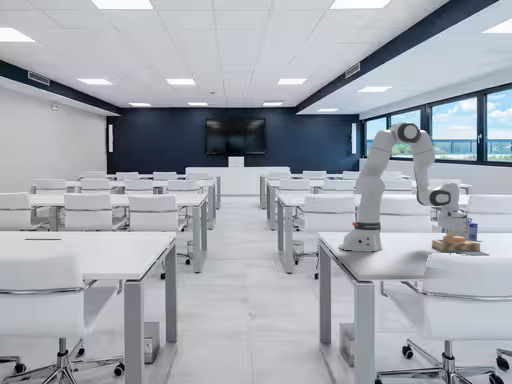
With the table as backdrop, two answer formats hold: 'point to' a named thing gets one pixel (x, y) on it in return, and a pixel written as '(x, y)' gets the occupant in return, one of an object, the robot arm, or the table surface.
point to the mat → (468, 252)
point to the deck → (455, 245)
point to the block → (454, 239)
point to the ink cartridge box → (469, 230)
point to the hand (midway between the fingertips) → (449, 237)
